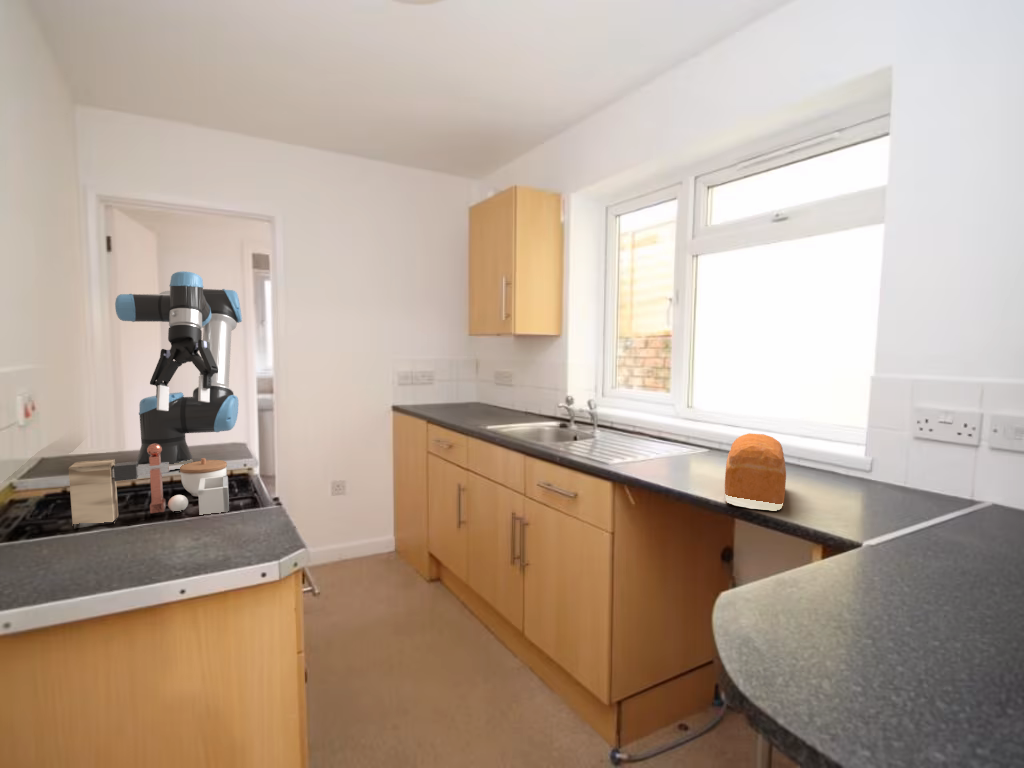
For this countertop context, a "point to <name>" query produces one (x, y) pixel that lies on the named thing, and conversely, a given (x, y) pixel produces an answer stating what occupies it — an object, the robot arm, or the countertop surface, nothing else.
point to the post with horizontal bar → (154, 469)
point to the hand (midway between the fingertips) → (183, 406)
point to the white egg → (177, 503)
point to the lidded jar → (200, 473)
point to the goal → (213, 495)
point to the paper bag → (93, 492)
